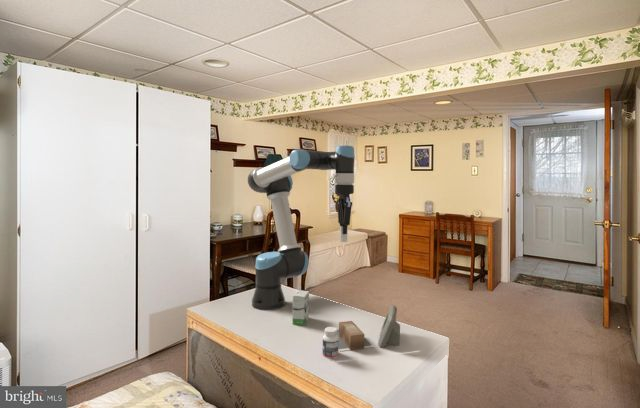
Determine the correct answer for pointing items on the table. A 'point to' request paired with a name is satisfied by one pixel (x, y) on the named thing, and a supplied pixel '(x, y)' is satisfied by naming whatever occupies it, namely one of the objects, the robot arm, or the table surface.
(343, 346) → the mat
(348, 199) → the robot arm
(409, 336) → the table surface
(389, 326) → the digital clock
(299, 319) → the ink box
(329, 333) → the pill bottle
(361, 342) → the block
